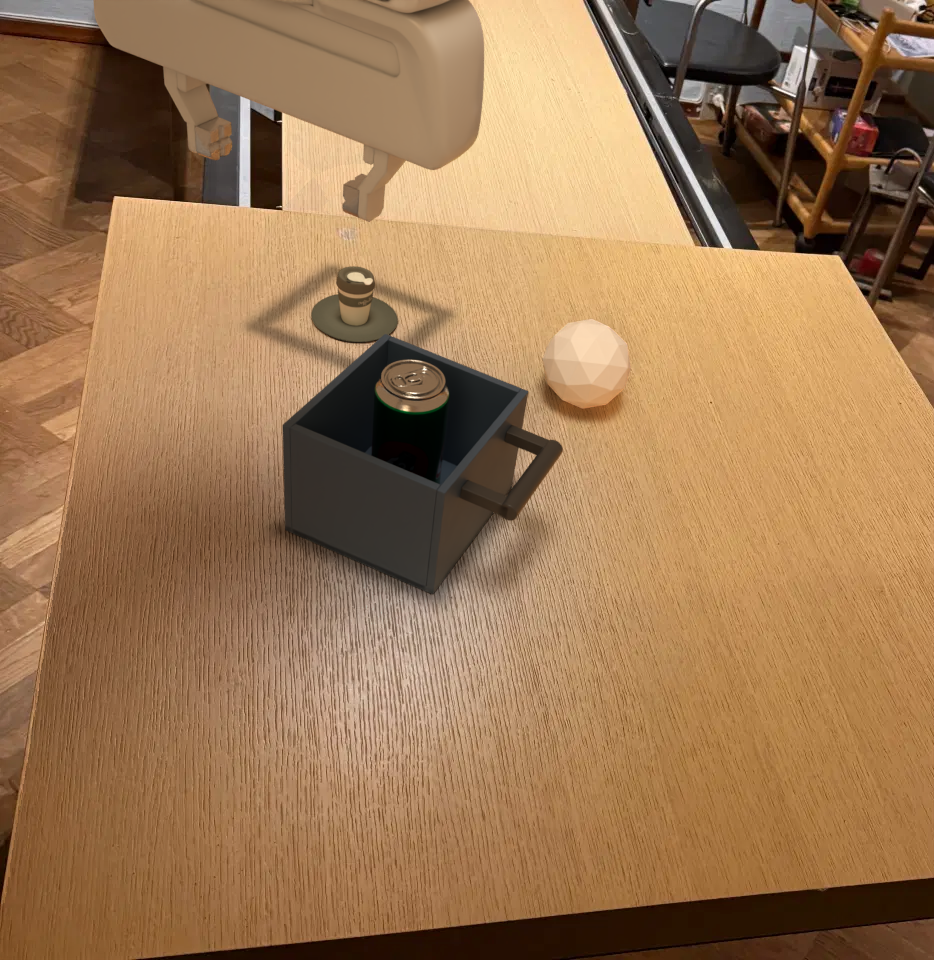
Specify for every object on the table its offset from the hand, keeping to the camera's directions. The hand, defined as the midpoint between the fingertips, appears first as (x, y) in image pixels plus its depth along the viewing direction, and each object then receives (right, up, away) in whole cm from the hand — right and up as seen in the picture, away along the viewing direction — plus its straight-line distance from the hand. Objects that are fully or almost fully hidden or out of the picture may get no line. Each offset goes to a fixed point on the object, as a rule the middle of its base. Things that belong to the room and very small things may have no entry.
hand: (286, 183), depth 55 cm
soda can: (+1, -18, +22) cm, 28 cm away
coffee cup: (-7, -2, +39) cm, 39 cm away
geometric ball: (+14, -9, +38) cm, 41 cm away
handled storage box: (+3, -19, +22) cm, 29 cm away
